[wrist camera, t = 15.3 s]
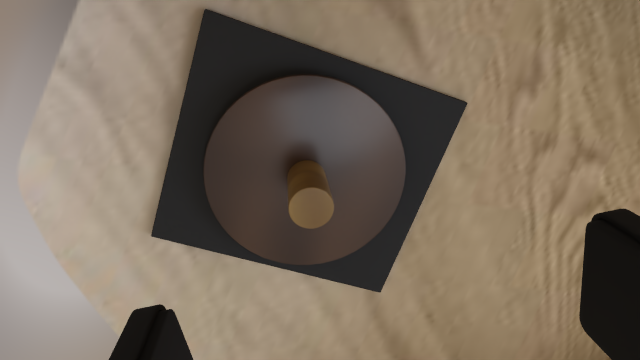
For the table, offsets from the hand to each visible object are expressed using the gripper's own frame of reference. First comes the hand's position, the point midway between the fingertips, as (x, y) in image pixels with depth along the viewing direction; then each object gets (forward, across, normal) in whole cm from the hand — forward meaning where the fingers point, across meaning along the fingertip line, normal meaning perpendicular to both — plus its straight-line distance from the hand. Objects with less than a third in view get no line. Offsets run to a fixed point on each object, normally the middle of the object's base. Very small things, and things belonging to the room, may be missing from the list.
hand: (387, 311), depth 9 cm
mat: (+20, +2, +4) cm, 21 cm away
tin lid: (+19, +2, +4) cm, 20 cm away
